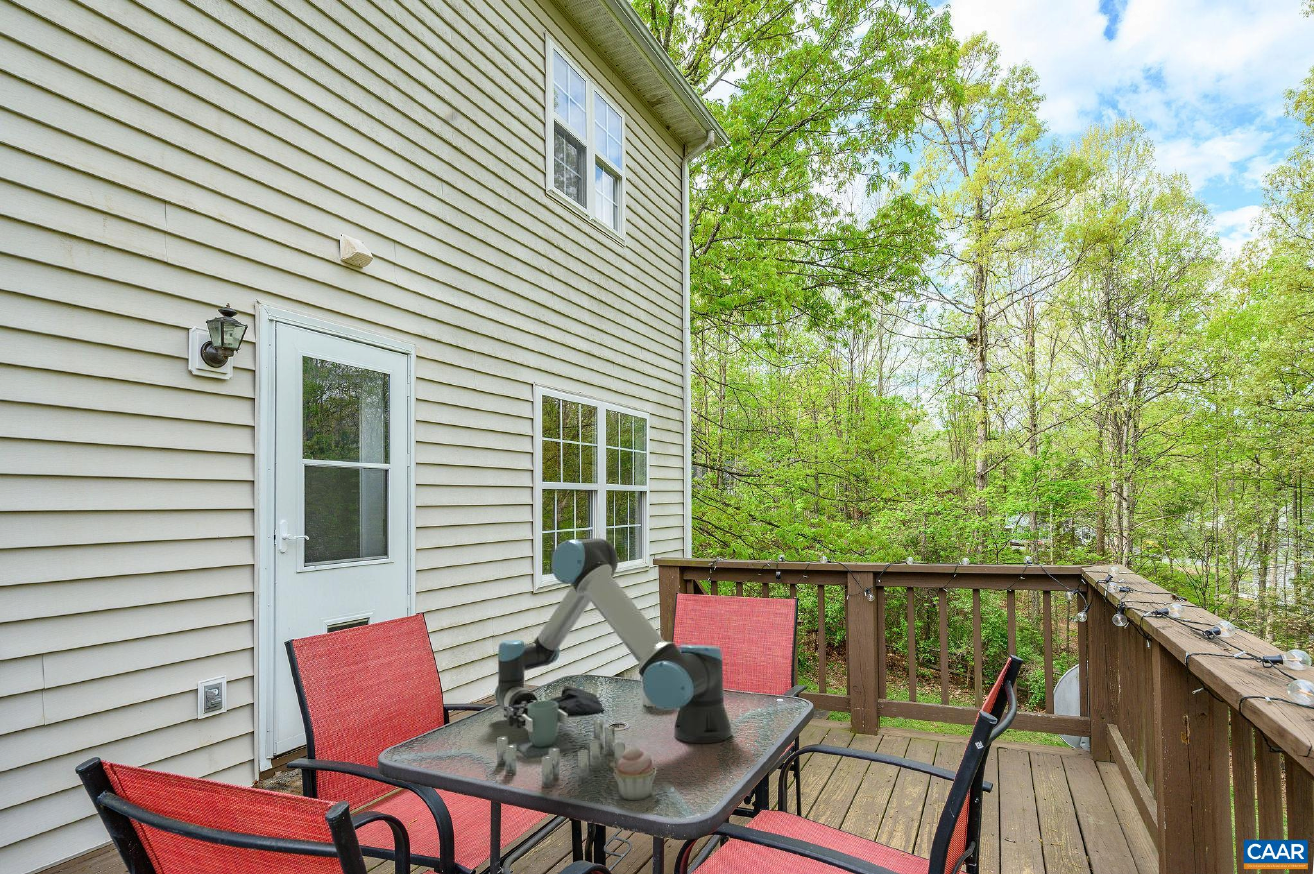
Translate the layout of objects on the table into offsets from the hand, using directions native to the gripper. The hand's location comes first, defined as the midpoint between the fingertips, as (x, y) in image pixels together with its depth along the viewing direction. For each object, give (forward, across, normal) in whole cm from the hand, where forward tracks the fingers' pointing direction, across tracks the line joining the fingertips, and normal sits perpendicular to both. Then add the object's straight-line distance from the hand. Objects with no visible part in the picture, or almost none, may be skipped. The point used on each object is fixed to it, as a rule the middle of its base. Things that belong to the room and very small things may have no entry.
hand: (548, 722), depth 171 cm
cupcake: (+36, -6, -7) cm, 37 cm away
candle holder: (-26, -44, -7) cm, 52 cm away
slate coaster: (-5, 0, -7) cm, 8 cm away
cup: (-5, 0, -7) cm, 8 cm away
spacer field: (+12, -2, -7) cm, 14 cm away
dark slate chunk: (-37, -23, -8) cm, 45 cm away
